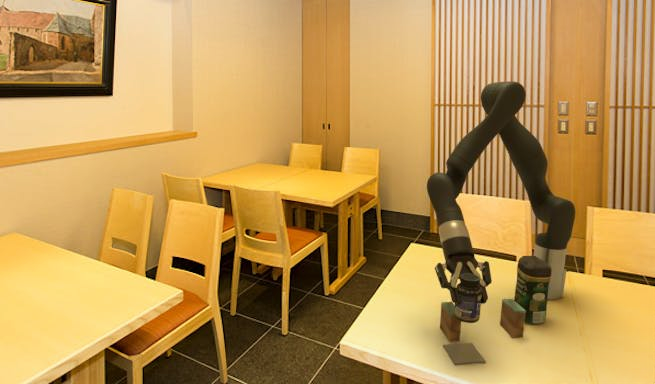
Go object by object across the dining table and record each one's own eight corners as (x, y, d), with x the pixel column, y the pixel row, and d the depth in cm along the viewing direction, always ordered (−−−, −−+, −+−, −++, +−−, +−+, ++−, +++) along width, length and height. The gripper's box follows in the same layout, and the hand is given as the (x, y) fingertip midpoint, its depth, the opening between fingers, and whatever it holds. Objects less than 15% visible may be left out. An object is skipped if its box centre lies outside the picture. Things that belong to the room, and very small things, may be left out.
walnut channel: (509, 323, 125) (512, 298, 123) (522, 337, 118) (525, 310, 116) (439, 327, 123) (441, 302, 121) (449, 341, 116) (451, 314, 114)
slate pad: (471, 344, 115) (471, 342, 115) (485, 363, 107) (485, 361, 107) (442, 346, 114) (442, 344, 114) (454, 365, 106) (454, 363, 106)
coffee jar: (508, 309, 133) (514, 253, 129) (533, 309, 133) (540, 253, 129) (522, 326, 124) (529, 265, 120) (549, 326, 124) (557, 265, 120)
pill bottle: (480, 325, 105) (485, 283, 102) (454, 322, 106) (458, 281, 103) (477, 312, 110) (481, 272, 108) (452, 310, 112) (456, 270, 109)
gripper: (433, 235, 110) (447, 300, 101) (487, 234, 112) (505, 297, 103) (425, 247, 116) (438, 309, 108) (476, 246, 118) (492, 306, 109)
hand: (471, 303), depth 105 cm, fingers closed on pill bottle, 6 cm apart
